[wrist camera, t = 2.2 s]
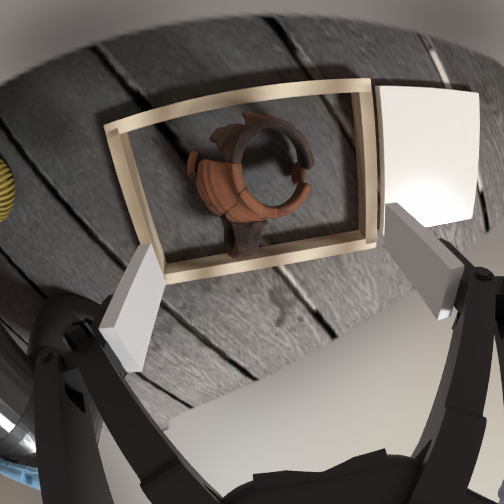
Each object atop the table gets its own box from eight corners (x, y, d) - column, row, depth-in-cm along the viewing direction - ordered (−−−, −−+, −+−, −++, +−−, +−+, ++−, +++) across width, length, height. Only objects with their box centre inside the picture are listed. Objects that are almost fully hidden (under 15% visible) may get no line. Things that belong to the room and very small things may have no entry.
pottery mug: (177, 121, 24) (216, 100, 17) (268, 125, 29) (325, 115, 22) (182, 254, 27) (220, 282, 21) (269, 241, 32) (323, 260, 25)
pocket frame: (160, 274, 31) (156, 285, 30) (111, 122, 23) (103, 125, 21) (368, 238, 31) (375, 247, 29) (361, 78, 22) (370, 78, 21)
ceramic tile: (379, 230, 30) (383, 234, 29) (374, 85, 23) (379, 86, 22) (467, 214, 30) (471, 218, 29) (472, 92, 22) (478, 93, 21)
